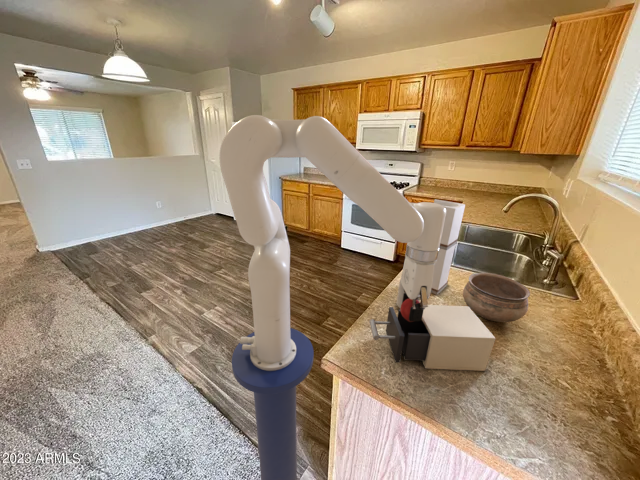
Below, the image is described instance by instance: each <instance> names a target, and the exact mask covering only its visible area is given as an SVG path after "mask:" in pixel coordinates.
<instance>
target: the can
mask: <svg viewBox="0 0 640 480" xmlns="http://www.w3.org/2000/svg"><path fill="white" fill-rule="evenodd" d="M397 291H398V292H397V297H396V306H397V307H398V308H399V309H400V308H401V305H402V301H403V294H404V288H403V286H402V284H401V278H400V279H399V285H398V290H397ZM417 297H420V295H418V296H417ZM418 301H419V302H420V300H418Z"/></svg>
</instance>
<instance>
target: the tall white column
mask: <svg viewBox="0 0 640 480" xmlns="http://www.w3.org/2000/svg"><path fill="white" fill-rule="evenodd" d="M433 203H437V204H440V205H442V206H444V207H445V209H446V217H445V222H444V227H443V232H442V237H441V242H440V247H439V252H438V257H437V261H436V262H435V263H434V273H433V282H432V288H431V293H430V294H434V295H439V294H440V293H441V292H442V291H443V290H444V289H445V288H446V287H447V286H448V283H449V276H450V271H451V266H452V262H453V258H454V253H455V249H456V247H457V244H458V239H459V235H460V230H461V225H462V221H463V218H464V213H465V208H466V204H465V203H459V202H453V201H448V200H441V199H437V198H436V199H434V200H433Z"/></svg>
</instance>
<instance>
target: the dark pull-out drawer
mask: <svg viewBox="0 0 640 480" xmlns="http://www.w3.org/2000/svg"><path fill="white" fill-rule="evenodd" d="M377 325H386V328H385V333H386V335H382V334H379V331H378V328H377ZM369 326H370V331H371V335H372V339H373V340H374V341H378V340H379V339H386V340H388V342H389V347H390V349H391V353H392V356H393V359H394V362H395V364H396V363H397V364H400V363H401V360H402V359H401V358H402V356H403V359H404V360H405V361H422V360H424V361H425V360H426V355H427V351H428V346H429V342H430V337H431V336H430V334H429V332H428V330H427V328H426V326H425V324H424V322H423V321H422V320H421V321H414V322H408V321H407V320H406V319H405V318H404V317H403V316H402V314H401V312H400V309H398V310H397V313H396V311H395V309H394V307H393V306H388V311H387V320H386V321H381V320H380V321H378V320H375V319H373V318H372V319H370V320H369Z"/></svg>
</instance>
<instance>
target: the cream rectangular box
mask: <svg viewBox="0 0 640 480" xmlns="http://www.w3.org/2000/svg"><path fill="white" fill-rule="evenodd" d="M422 321H423V322H424V324H425V326H426V328H427V330H428V332H429V334H430V336H431V337H430V342H429V346H428V351H427V355H426V360H425V361H424V360H421V362H422V364H423V367H424V368H425V369H432V370H434V369H435V370H457V371H476V372H477V371H481V372H486V369H487V367H488V364H489V360H490V357H491V354H492V351H493V348H494V344H495V342H496V337H495V336H494V335H493V333H492V332H491V331H490V330H489V329H488V327H487V326H486V325H485V324H484V323H483V322H482V320H481V319H480V318H479V317H478V316H477V314H476V313H475V312H474V311H472V310H471V309H470V308H469V306H467V305H449V304H447V305H446V304H445V305H444V304H428V307H426V308H425V309H424V310H423V315H422Z"/></svg>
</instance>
